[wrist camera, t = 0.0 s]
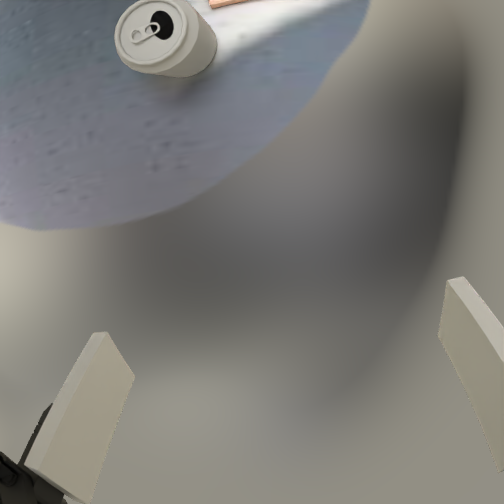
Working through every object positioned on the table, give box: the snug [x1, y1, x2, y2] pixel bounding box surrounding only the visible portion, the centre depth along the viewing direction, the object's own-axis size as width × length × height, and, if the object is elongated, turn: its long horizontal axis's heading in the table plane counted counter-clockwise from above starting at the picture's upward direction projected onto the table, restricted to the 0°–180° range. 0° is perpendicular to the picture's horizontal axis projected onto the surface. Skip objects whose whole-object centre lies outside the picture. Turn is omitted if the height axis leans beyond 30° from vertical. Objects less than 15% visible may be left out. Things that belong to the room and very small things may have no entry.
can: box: [114, 0, 217, 78], centre depth 24 cm, size 8×8×12 cm
